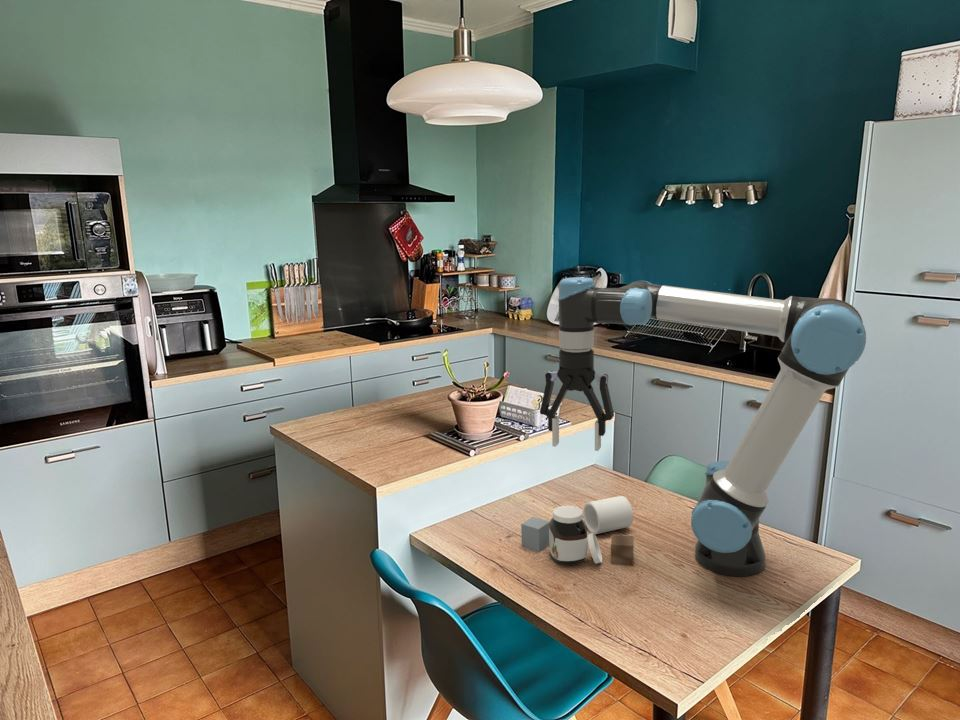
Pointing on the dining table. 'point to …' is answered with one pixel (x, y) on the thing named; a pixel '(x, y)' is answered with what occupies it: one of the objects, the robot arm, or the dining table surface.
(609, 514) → the mug
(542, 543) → the slate block
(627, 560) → the walnut block
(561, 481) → the dining table surface
